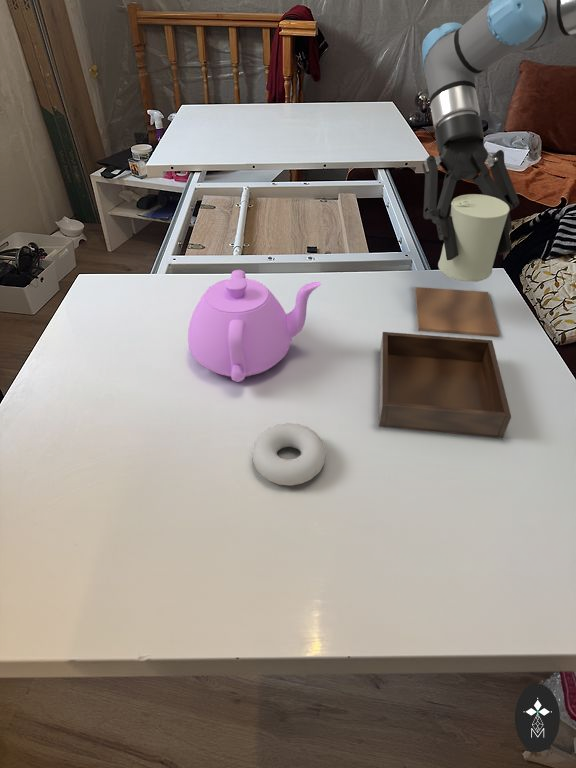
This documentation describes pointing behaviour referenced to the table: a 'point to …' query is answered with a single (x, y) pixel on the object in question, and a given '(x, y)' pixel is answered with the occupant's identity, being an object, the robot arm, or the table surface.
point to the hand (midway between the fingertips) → (479, 254)
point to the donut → (283, 468)
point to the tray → (441, 385)
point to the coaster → (455, 312)
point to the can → (474, 236)
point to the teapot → (244, 326)
